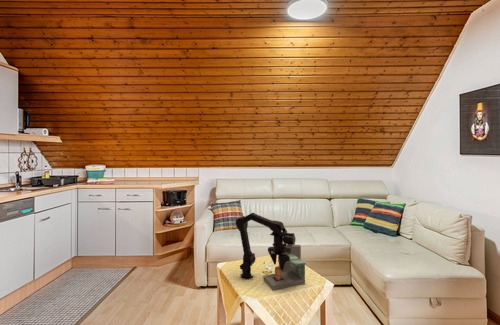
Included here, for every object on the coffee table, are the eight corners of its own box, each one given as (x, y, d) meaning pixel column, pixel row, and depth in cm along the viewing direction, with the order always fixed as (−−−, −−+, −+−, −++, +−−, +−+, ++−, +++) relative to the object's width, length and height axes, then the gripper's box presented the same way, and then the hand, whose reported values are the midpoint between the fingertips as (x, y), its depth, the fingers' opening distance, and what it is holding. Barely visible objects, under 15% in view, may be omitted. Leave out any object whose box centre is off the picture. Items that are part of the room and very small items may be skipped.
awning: (283, 271, 186) (283, 255, 185) (292, 269, 189) (292, 254, 188) (295, 281, 172) (295, 264, 172) (305, 279, 175) (305, 262, 174)
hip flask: (279, 274, 189) (279, 244, 188) (277, 271, 193) (277, 242, 192) (301, 271, 193) (301, 242, 192) (298, 268, 197) (299, 240, 196)
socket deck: (263, 280, 180) (263, 275, 180) (293, 274, 188) (293, 269, 188) (273, 290, 167) (273, 285, 167) (304, 283, 176) (304, 279, 175)
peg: (273, 282, 177) (273, 266, 177) (279, 281, 179) (279, 265, 178) (276, 285, 174) (276, 269, 173) (282, 284, 175) (282, 268, 175)
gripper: (297, 245, 169) (297, 271, 170) (282, 236, 186) (282, 259, 187) (281, 248, 165) (281, 274, 166) (267, 238, 182) (267, 262, 183)
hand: (278, 267), depth 176 cm, fingers open, 9 cm apart
